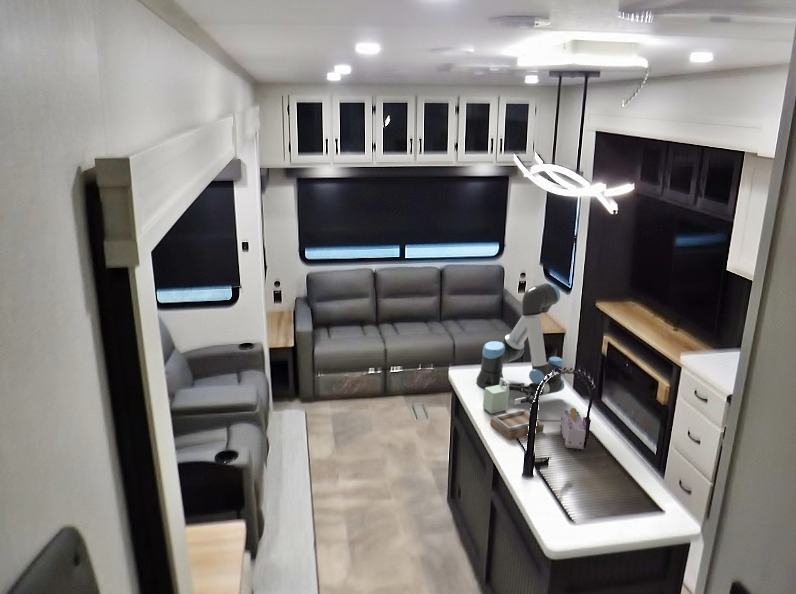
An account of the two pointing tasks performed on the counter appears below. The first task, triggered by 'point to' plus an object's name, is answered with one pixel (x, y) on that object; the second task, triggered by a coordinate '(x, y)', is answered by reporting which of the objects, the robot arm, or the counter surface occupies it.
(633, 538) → the counter surface
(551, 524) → the counter surface
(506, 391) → the trolley
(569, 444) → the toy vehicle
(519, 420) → the tray
